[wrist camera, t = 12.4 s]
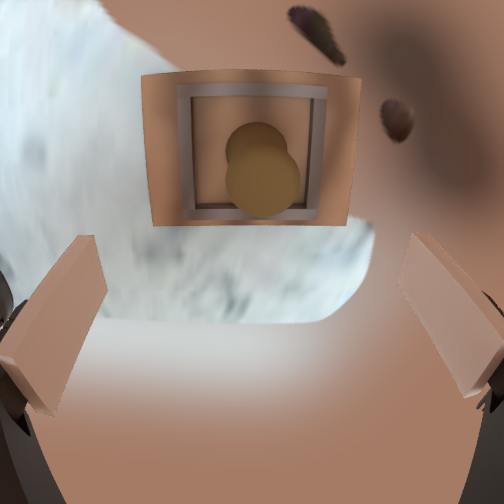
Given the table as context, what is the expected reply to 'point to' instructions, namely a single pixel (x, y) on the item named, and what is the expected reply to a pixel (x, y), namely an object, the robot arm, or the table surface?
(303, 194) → the board
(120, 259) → the table surface
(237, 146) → the brown tall rounded piece
